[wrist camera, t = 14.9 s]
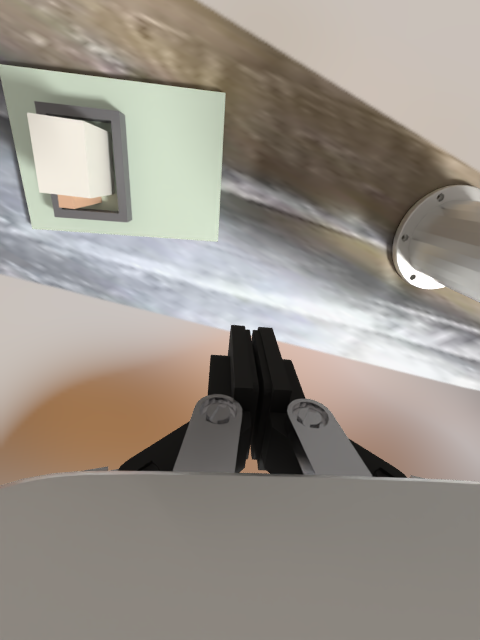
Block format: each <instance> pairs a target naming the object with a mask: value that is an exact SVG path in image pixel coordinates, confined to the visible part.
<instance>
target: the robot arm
mask: <svg viewBox="0 0 480 640" xmlns="http://www.w3.org/2000/svg"><path fill="white" fill-rule="evenodd" d="M392 258H393V262H394V266H395V268H396V270H397V272H398V274H399V275H400V276H401V277H402V279H404V280H405V281H407V282H408V283H410V284H412V285H414V286H415V287H419V288H422V289H438V288H443V287H448V288H450V289H452V290H454V291H456V292H458V293H461V294H463V295H465V296H467V297H469V298H471V299H473V300H475V301H478V302H480V189H479V188H477V187H473V186H469V185H451V186H445V187H442V188H439V189H436V190H435V191H433V192H431V193H429V194H427V195H426V196H424V197H423V198H422V199H420V200H419V201H418V202H417V203H416V204H415V205H414V206H413V207H412V208H411V209H410V210H409V211H408V212H407V214H406V215H405V216H404V218H403V219H402V221H401V223H400V225H399V227H398V229H397V231H396V234H395V237H394V242H393V247H392ZM250 446H251V456H252V459H254V460H255V459H256V460H257V463H258V470H267V471H268V472H269V473H270V474H262V473H260V474H259V473H239V472H240V471H241V470H243V469H244V468H245V461H246V459H248V455H249V449H250ZM0 640H480V482H474V481H461V480H442V479H425V478H420V477H416V476H412V475H411V476H410V478H407V477H406V476H405V475H404V474H403V473H402V472H400V471H399V470H398V469H396V468H395V467H393V466H392V465H390V464H389V463H387V462H385V461H384V460H382V459H380V458H379V457H377V456H376V455H374V454H372V453H371V452H369V451H368V450H366V449H364V448H363V447H361V446H360V445H358V444H356V443H354V442H353V441H352V440H350V439H348V438H347V436H346V435H345V433H344V431H343V430H342V428H341V427H340V425H339V424H338V422H337V421H336V419H335V418H334V416H333V414H332V413H331V412H330V411H329V410H328V408H327V407H325V406H324V405H323V404H321V403H318V402H317V401H314V400H310V399H305V396H304V394H303V391H302V388H301V386H300V383H299V380H298V377H297V375H296V372H295V369H294V366H293V364H292V361H291V360H285V359H284V360H283V359H282V357H281V354H280V351H279V348H278V345H277V341H276V338H275V335H274V332H273V329H272V328H265V327H258V330H253V334H252V341H251V335H250V330H245V326H238V325H231V331H230V340H229V350H228V356H222V355H211V359H210V372H209V385H208V396H206V397H203V398H202V399H201V400H199V401H198V402H197V404H196V406H195V408H194V411H193V414H192V417H191V420H190V421H189V422H188V423H187V424H184V425H183V426H181V427H180V428H178V429H177V430H175V431H173V432H172V433H170V434H169V435H167V436H165V437H164V438H162V439H161V440H159V441H157V442H156V443H155V444H153V445H151V446H150V447H148V448H146V449H145V450H143V451H142V452H140V453H138V454H137V455H135V456H134V457H132V458H130V459H129V460H128V461H126V462H125V463H124V464H123V465H121V467H120V468H119V469H116V470H111V471H108V467H103V468H97V469H91V470H85V471H79V472H78V471H76V472H65V473H55V474H47V475H42V476H36V477H31V478H26V479H21V480H18V481H15V482H11V483H7V484H4V485H0Z"/></svg>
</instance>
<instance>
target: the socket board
mask: <svg viewBox="0 0 480 640" xmlns="http://www.w3.org/2000/svg"><path fill="white" fill-rule="evenodd" d="M0 77H1V82H2V87H3V92H4V96H5V101H6V106H7V111H8V115H9V120H10V125H11V130H12V134H13V139H14V144H15V149H16V153H17V158H18V163H19V168H20V172H21V177H22V182H23V186H24V191H25V196H26V201H27V205H28V210H29V215H30V220H31V224H32V229H42V230H57V231H71V232H86V233H100V234H114V235H129V236H143V237H158V238H172V239H187V240H201V241H216V242H218V229H219V209H220V190H221V171H222V151H223V132H224V112H225V93H222V92H215V91H207V90H199V89H191V88H183V87H175V86H167V85H159V84H152V83H144V82H136V81H128V80H120V79H112V78H104V77H96V76H89V75H81V74H73V73H65V72H57V71H49V70H41V69H33V68H26V67H18V66H10V65H2V64H0ZM27 113H34V114H40V115H47V116H54V117H61V118H67V119H74V120H81V121H85V122H87V123H89V124H92V125H94V126H96V127H99V128H101V129H103V130H106V131H108V132H110V133H112V149H113V167H114V184H115V194H113V195H107V196H101V198H102V203H98V204H94V205H89V206H85V207H81V208H76V209H70V208H61V207H59V202H58V195H57V194H49V193H40V192H39V187H38V181H37V174H36V168H35V162H34V155H33V149H32V142H31V136H30V130H29V123H28V117H27Z"/></svg>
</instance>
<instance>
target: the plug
mask: <svg viewBox="0 0 480 640" xmlns="http://www.w3.org/2000/svg"><path fill="white" fill-rule="evenodd" d="M27 117H28V123H29V130H30V136H31V142H32V149H33V155H34V162H35V168H36V174H37V181H38V187H39V192H40V193H49V194H57V195H58V202H59V207H61V208H70V209H76V208H81V207H85V206H89V205H94V204H98V203H102V198H101V196H107V195H113V194H115V184H114V167H113V149H112V133H110V132H108V131H106V130H103V129H101V128H99V127H96V126H94V125H92V124H89V123H87V122H85V121H81V120H74V119H67V118H61V117H54V116H47V115H40V114H34V113H27Z"/></svg>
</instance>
